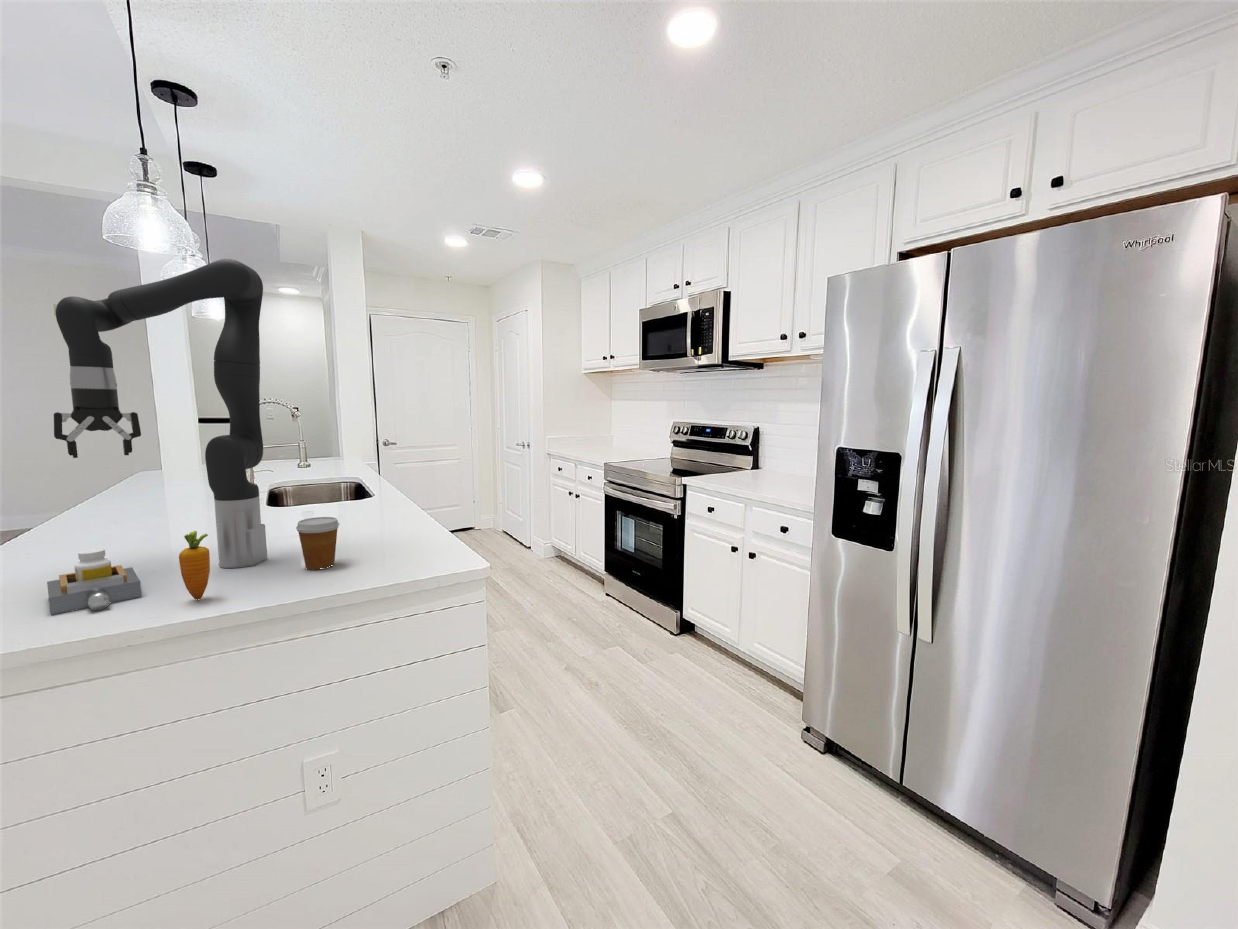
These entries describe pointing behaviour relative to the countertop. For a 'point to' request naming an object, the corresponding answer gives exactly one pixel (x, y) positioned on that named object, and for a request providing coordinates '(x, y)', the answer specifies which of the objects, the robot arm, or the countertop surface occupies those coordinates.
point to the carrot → (195, 565)
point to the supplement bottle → (92, 565)
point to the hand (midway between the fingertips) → (101, 456)
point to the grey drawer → (92, 590)
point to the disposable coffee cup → (318, 541)
